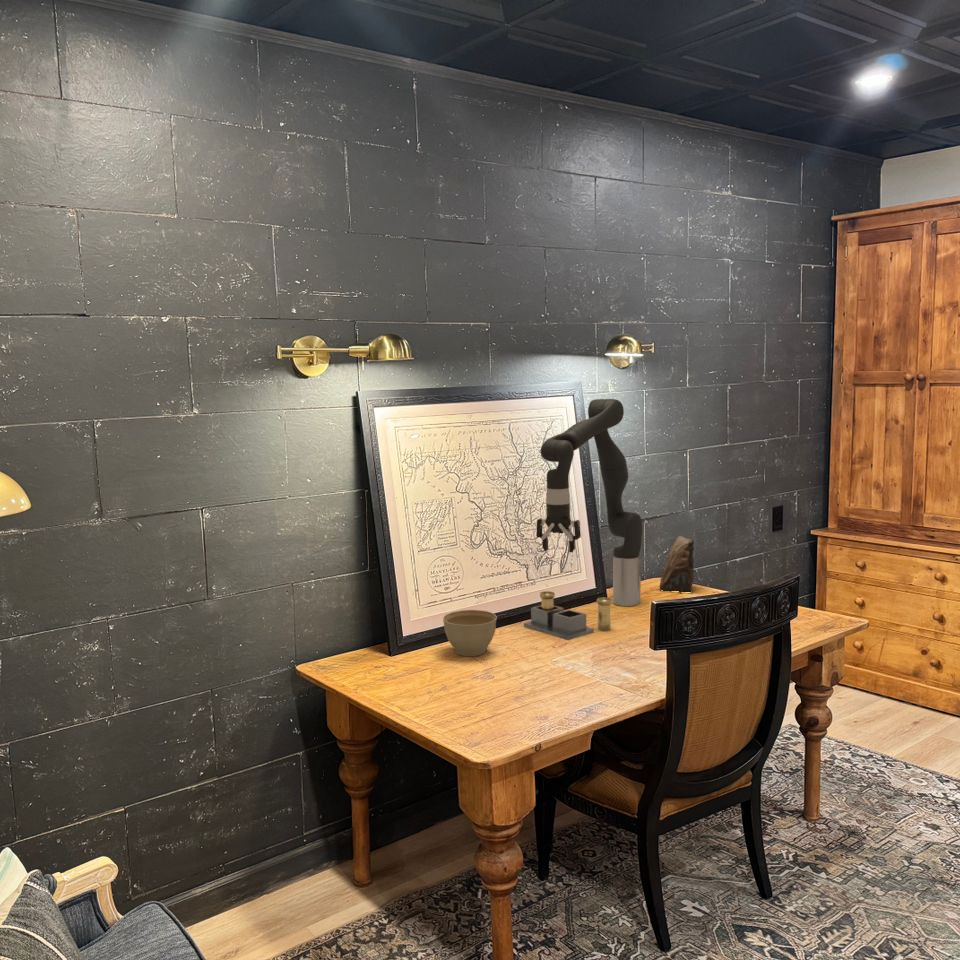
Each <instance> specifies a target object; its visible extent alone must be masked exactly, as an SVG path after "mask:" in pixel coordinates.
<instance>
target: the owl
mask: <svg viewBox="0 0 960 960" xmlns="http://www.w3.org/2000/svg"><path fill="white" fill-rule="evenodd" d="M694 544H695V540H694V539H693V538H686V537H684V536H682V535H681V534H680V535H678V537H677V538H676V540H675V542H674V544H673V545H672V546H671V548H670V550H669V551H668V555H667V558H666V561H665V564H664V567H663V570H662V573H661V577H660V583H659V590H663V591H662V592H665V591H679V592H691V591H692V587H693V582H694V557H693V556H694V555H693V553H694V549H695V548H694Z"/></svg>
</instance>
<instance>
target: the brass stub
mask: <svg viewBox="0 0 960 960" xmlns="http://www.w3.org/2000/svg"><path fill="white" fill-rule="evenodd" d="M596 604H597V630H598V631H601V632H608V631H610V630H611V604H613V598H610V597H605V596H603V597H597V598H596Z"/></svg>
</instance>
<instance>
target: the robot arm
mask: <svg viewBox="0 0 960 960" xmlns="http://www.w3.org/2000/svg"><path fill="white" fill-rule="evenodd" d="M624 410H625V409H624V405H623V403H622V402H621V401H619V400H618V399H615V398H600V399H599V398H598V399H597V398H596V399H595V398H594V399H592V400H591V401H590V402H589V404H588V407H587V415H588V416H587V417H588V418H587V419H584V420H582V421H579V422H577V423H574V424H573V425H571V427H569V428H567V429H566V430H565V431H564V432H562V433H559V434H556V435H553V436H551V437H549V438H547V439H546V440H545V441H543V443H542V445H541V448H540V454H541V458H542V459H544V460H545V461H546V462H553V463H557V466H556V468H552V469H549V470H548V471H547V472H546V492H545V502H546V507H545V510H546V511H545V512H546V518H545V519H544V518H542V517H539V518H538V519H537V520H536V531H535V532H536V534H535V535H536V537H537V538H540V539H541V541H542V549H543V550H544V552H547V551H548V550H549V538H548V537H549V536H550V534H551V533H552V534H563V535H565V536H566V537H567V538H568V539H569V540H568V541H569V542H568V547H569V548H568V550H569V551H568V552H569V553H573V552H574V551H575V550H576V540H579V539H580V538H581V536H582V535H581V522H580V520H579V519H576V520H571V511H570V510H571V505H570V504H571V502H570V501H571V500H570V499H571V497H570V489H569V487H570V485H569V483H570V482H569V479H570V477H569V475H570V471H571V466H572V463H573V459H574V454H575V451H576V450H578V449H579V448H580V447H582V446H583V445H584V444H586V443H587V442H588V441H589V440H590V439H592V438H593V439H594V443H595V446H596V452H597V456H598V462H599V469H600V474H601V478H602V484H603V488H604V495H605V501H606V503H605V504H606V513H607V514H606V515H607V525H608V529H609V532H610V533H611V534H612V535H613V536H615V537H620V538H624V539H623V544H621V545H619V546H615V547H614V548H613V550H612V551H613V552H612V555H613V556H612V557H613V558H612V562H613V563H612V565H613V566H612V571H613V572H612V573H613V574H612V588H613V589H612V604H614V605H615V606H620V607H622V606H623V607H633V606H637V605H639V604H640V603H641V598H642V597H641V588H642V587H641V586H642V584H641V582H642V579H641V576H640V551H641V548H642V539H643V520H642V516H641V515H640V514H639V513H636V512H631V511H625V510H624V508H623V503H622V501H623V500H622V496H623V493H624V490H625V488H626V486H627V484H628V481H629V471H628V465H627V459H626V457H625V455H624V453H623V452H622V450H621V449H620V448H619V447H618V446H617V445H616V443H615V442H614V440H613V439H612V438H611V436H610V433H609V429H610V428H612V427H615V426H617V425H619V424H620V423H621V422H622V420H623V418H624V414H625V412H624ZM544 525H546V526H547V529H546V530H545V531H544V533H543V526H544ZM571 525H572V528H574V529H573V530H574V534H573V531H572V529H571V528H570V526H571Z"/></svg>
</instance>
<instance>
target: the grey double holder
mask: <svg viewBox="0 0 960 960" xmlns="http://www.w3.org/2000/svg"><path fill="white" fill-rule="evenodd" d="M539 597H540V598H541V599H540V602H541V604H540V605H536V606H533V607H530V621H526V622H524V623H523V627H524V628H527V629H530V630H533V631H537V632H540V633H544V634H548V635H550V636H553V637H557V638H561V639H564V640H566V641H567V640H568V641H569V640H572V639H576V638H579V637H582V636H586V635H590V634H593V633H594V631H595V629H594V628H593V627H589V626H587V613H583V612H580V611H576V610H572V609H566V610H565V608H564V607H561V606H558V605H554V599H555V597H556V594H555V592H554V591H548V590H547V591H541V592H539Z"/></svg>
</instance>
